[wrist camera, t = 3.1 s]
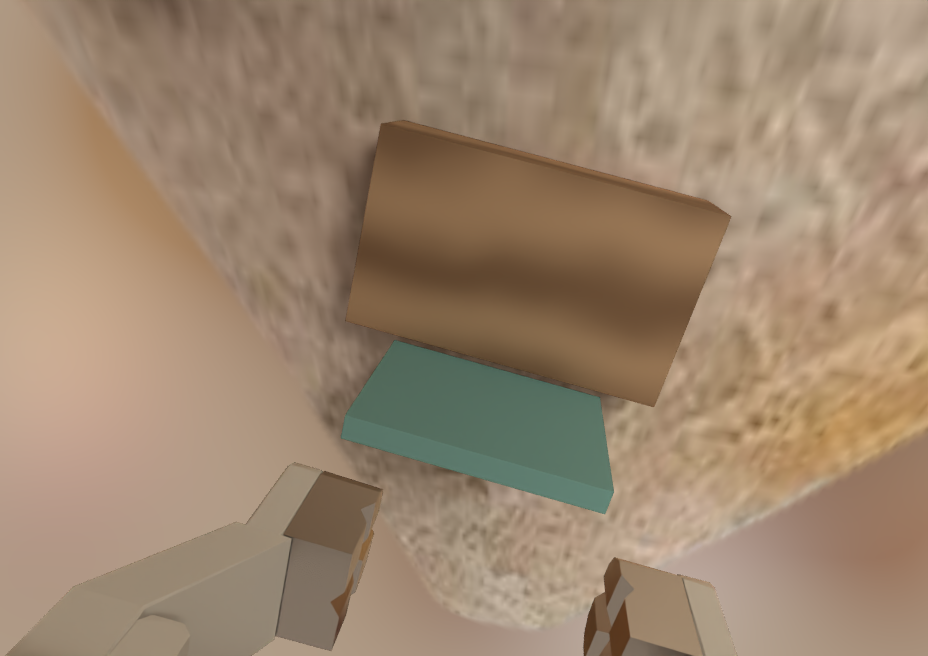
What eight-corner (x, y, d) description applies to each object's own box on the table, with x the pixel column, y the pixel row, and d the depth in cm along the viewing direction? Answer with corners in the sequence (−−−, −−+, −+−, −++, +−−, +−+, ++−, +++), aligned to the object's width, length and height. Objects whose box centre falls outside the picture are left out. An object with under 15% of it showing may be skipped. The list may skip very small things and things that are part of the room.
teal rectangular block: (394, 340, 35) (345, 415, 27) (599, 397, 35) (613, 491, 27) (390, 358, 36) (340, 438, 27) (593, 415, 35) (605, 514, 27)
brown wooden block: (403, 120, 36) (381, 123, 31) (708, 200, 35) (731, 216, 31) (369, 295, 40) (345, 320, 35) (642, 370, 39) (654, 407, 35)
